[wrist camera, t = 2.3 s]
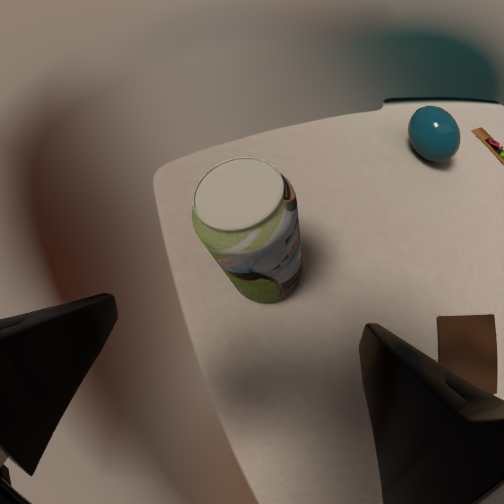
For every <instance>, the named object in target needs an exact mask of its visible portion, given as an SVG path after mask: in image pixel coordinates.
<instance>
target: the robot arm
mask: <svg viewBox="0 0 504 504" xmlns="http://www.w3.org/2000/svg"><path fill="white" fill-rule="evenodd" d="M117 319H118V311H117V306H116V300H115V297H114V295H112V294H107V293H102V294H98V295H95V296H91V297H87V298H83V299H79V300H76V301H72V302H68V303H64V304H60V305H57V306H53V307H49V308H45V309H41V310H37V311H33V312H30V313H25V314H22V315H18V316H13V317H9V318H4V319H0V504H32V503H31V502H29V501H28V500H27V499H26V498H24V497H23V496H22V495H21V494H19V493H18V492H17V491H16V490H15V489H14V488H12V486H11V481H10V475H9V469H8V468H7V467H6V466H5V465H4V464H3V463H4V462H5V461H6V459H7V458H9V459H10V460H12V461H13V462H14V463H15V464H17V466H19V467H20V468H21V469H23V470H24V471H25V472H26V473H27V474H29V475H30V476H32V475H33V474H34V472H35V469H36V467H37V465H38V463H39V461H40V459H41V457H42V455H43V453H44V451H45V449H46V447H47V445H48V443H49V441H50V439H51V437H52V435H53V432H54V431H55V429H56V427H57V425H58V423H59V421H60V419H61V418H62V416H63V414H64V412H65V411H66V409H67V407H68V405H69V403H70V402H71V400H72V398H73V396H74V395H75V393H76V391H77V390H78V388H79V386H80V384H81V383H82V381H83V379H84V378H85V376H86V375H87V373H88V371H89V370H90V368H91V366H92V365H93V363H94V362H95V360H96V358H97V357H98V355H99V354H100V352H101V350H102V349H103V347H104V345H105V343H106V341H107V339H108V337H109V335H110V333H111V331H112V329H113V327H114V325H115V323H116V321H117ZM359 354H360V362H361V371H362V380H363V387H364V392H365V396H366V401H367V406H368V410H369V415H370V420H371V425H372V431H373V436H374V442H375V447H376V453H377V459H378V466H379V473H380V480H381V488H382V493H383V494H382V497H383V504H504V400H502V399H500V398H498V397H496V396H494V395H492V394H490V393H489V392H487V391H485V390H483V389H481V388H479V387H477V386H476V385H474V384H472V383H470V382H469V381H467V380H465V379H463V378H462V377H460V376H459V375H457V374H455V373H454V372H452V371H451V370H449V369H448V368H446V369H445V367H444V366H443V365H441V364H440V363H438V362H437V361H435V360H433V359H432V358H430V357H429V356H427V355H426V354H424V353H423V352H421V351H419V350H418V349H416V348H415V347H413V346H412V345H410V344H409V343H407V342H405V341H404V340H402V339H401V338H399V337H398V336H396V335H395V334H393V333H391V332H390V331H388V330H387V329H385V328H384V327H382V326H380V325H379V324H376V323H368V324H366V325H365V327H364V330H363V334H362V337H361V340H360V344H359Z"/></svg>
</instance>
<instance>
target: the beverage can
mask: <svg viewBox="0 0 504 504" xmlns="http://www.w3.org/2000/svg"><path fill="white" fill-rule="evenodd" d="M192 220H193V225H194V228H195V231H196V233H197V235H198V236H199V238H200V239H201V241H202V242H203V243H204V245H205V246H206V248H207V249H208V250H209V252H210V253H211V254H212V256H213V257H214V259H215V260H216V261H217V263H218V264H219V265H220V267H221V268H222V269H223V271H224V272H225V273H226V275H227V276H228V277H229V279H230V280H231V281H232V283H233V284H234V285H235V287H236V288H237V289H238V291H239V292H240V293H241V294H242V295H243V296H245V297H246V298H248V299H250V300H252V301H255V302H259V303H271V302H275V301H279V300H281V299H283V298H285V297H286V296H288V295H289V294H290V293H291V292H292V291H293V290H294V289H295V288H296V286H297V285H298V283H299V281H300V279H301V275H302V256H301V243H300V231H299V220H298V209H297V200H296V195H295V192H294V190H293V187H292V185H291V184H290V182H289V181H288V180H287V179H286V178H285V177H284V176H283V175H282V174H281V173H280V172H279V171H278V170H277V168H276V167H274V166H273V165H272V164H271V163H269V162H267V161H265V160H263V159H259V158H255V157H238V158H233V159H229V160H226V161H224V162H222V163H219V164H218V165H216V166H214V167H213V168H211V169H210V170H209V171H208V172H206V174H205V175H204V176H203V177H202V178H201V179H200V181H199V182H198V184H197V186H196V188H195V191H194V194H193V209H192Z"/></svg>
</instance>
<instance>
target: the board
mask: <svg viewBox="0 0 504 504" xmlns="http://www.w3.org/2000/svg"><path fill="white" fill-rule="evenodd" d="M472 132H473V133H474V134H475V135H476V136H477V137H478V138H479V139H480V140H481V141H482V142H483V143H484V144H485V145H486V146H487V147H488V148H489V149H490V150H491V152H492V153H493V154H494V155H495V156H496V157H497V158H498V159H499V160H500V162H501V163H502V164H503V165H504V150H503V149H502V148H503V147H502V146H501V144H500V143H499V142H497V141H495V140H494V139H493V138H492V137H491V136H490V135H489V134H488V133H487V132H486V131H485V130H484V129H483V128H482V127H481V128H478V129H475V130H472Z"/></svg>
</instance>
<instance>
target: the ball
mask: <svg viewBox="0 0 504 504" xmlns="http://www.w3.org/2000/svg"><path fill="white" fill-rule="evenodd" d="M408 134H409V139H410V142H411V144H412V146H413V147H414V149H415V150H416V152H417V153H418V154H419V155H420V156H422V157H423V158H425V159H427V160H429V161H432V162H444V161H447V160H448V159H450V158H451V157H453V156H454V155H455V154H456V152H457V151H458V149H459V145H460V130H459V127H458V125H457V123H456V121H455V119H454V118H453V117H452V116H451V115H450V114H449V113H448V112H447V111H445V110H444V109H442V108H439V107H435V106H426V107H423V108H420V109H418V110H417V111H416V112H415V113H414V114H413V115H412V117H411V119H410V121H409V125H408Z"/></svg>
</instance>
